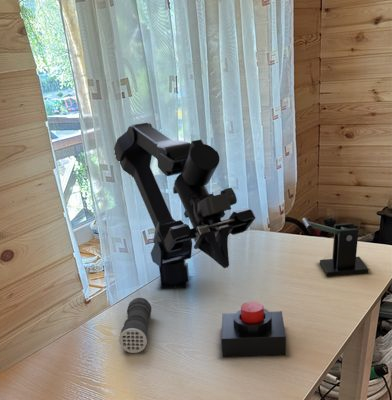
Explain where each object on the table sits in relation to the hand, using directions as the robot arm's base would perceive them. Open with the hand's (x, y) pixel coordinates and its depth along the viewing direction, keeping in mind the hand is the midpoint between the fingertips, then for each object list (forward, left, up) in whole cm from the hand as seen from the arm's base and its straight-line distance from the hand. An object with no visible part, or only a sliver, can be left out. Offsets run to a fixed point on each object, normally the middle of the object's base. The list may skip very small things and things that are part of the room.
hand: (226, 267), depth 102 cm
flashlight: (-19, -2, -14) cm, 24 cm away
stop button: (+5, -7, -8) cm, 12 cm away
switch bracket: (+28, +26, -13) cm, 41 cm away
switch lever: (+23, +26, -4) cm, 35 cm away
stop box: (+5, -7, -13) cm, 16 cm away
